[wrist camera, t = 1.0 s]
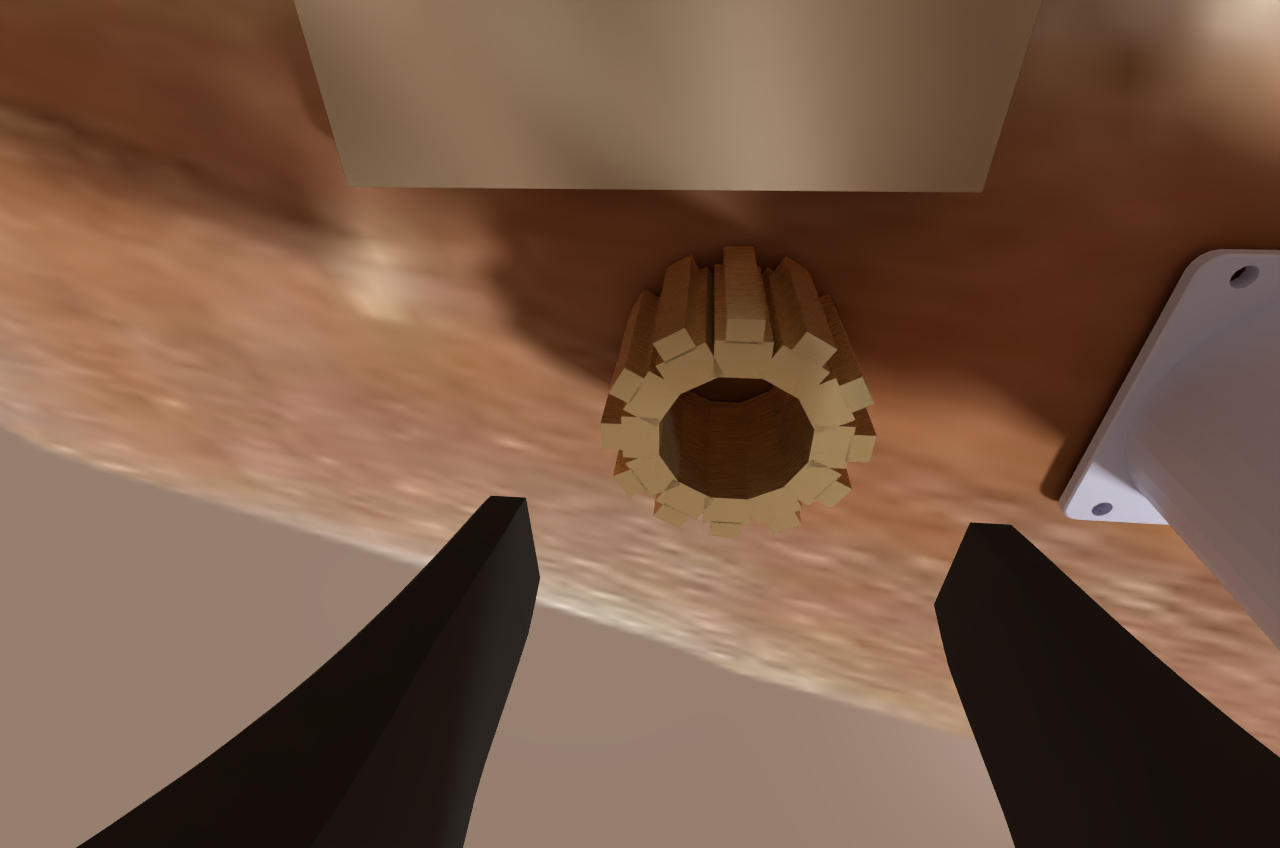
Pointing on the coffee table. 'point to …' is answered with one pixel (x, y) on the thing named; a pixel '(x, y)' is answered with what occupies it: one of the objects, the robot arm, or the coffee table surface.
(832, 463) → the brass gear
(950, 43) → the gear board
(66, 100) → the coffee table surface
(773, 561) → the coffee table surface
